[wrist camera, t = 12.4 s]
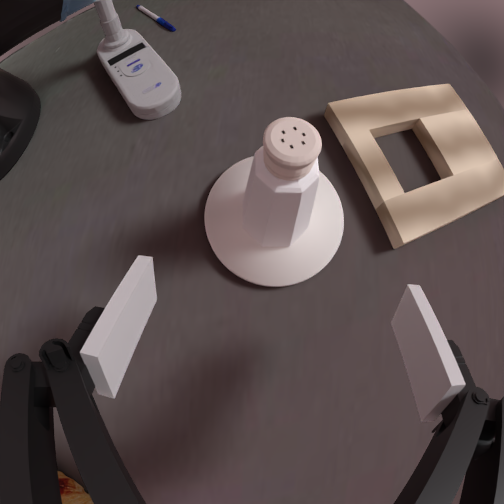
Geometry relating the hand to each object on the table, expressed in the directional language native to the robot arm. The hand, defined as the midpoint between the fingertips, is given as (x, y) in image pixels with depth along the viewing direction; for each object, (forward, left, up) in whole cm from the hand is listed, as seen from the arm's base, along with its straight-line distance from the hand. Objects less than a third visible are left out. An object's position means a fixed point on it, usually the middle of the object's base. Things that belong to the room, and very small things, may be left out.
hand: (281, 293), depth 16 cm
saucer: (-6, +3, -9) cm, 11 cm away
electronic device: (-27, -4, -9) cm, 29 cm away
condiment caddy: (-7, +20, -9) cm, 23 cm away
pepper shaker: (-6, +3, -8) cm, 10 cm away
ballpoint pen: (-38, 0, -9) cm, 39 cm away
